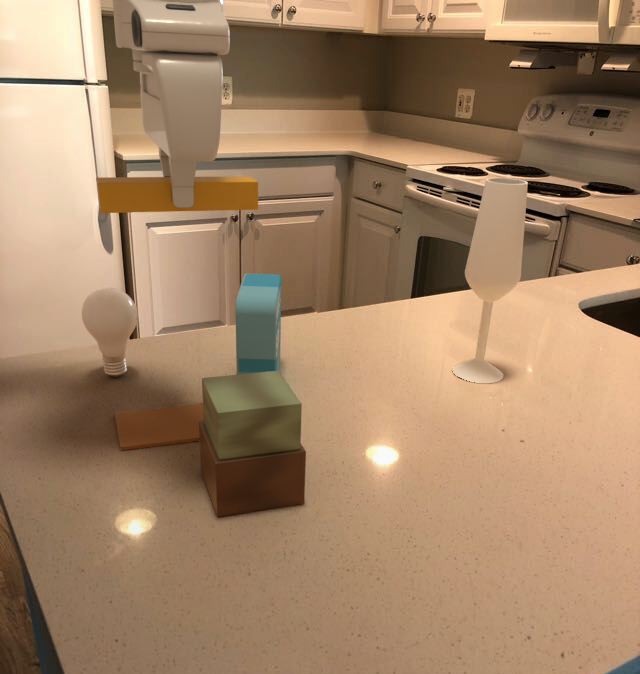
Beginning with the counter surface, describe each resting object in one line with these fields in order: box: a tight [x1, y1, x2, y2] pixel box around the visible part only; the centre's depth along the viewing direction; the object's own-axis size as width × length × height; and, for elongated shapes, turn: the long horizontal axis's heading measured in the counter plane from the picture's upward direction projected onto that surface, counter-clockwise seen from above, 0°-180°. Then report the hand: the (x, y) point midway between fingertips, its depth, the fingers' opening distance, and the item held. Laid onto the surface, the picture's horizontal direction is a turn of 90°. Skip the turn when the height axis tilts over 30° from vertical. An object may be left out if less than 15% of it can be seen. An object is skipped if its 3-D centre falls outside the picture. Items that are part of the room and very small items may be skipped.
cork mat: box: [114, 402, 204, 451], centre depth 77 cm, size 14×8×1 cm, turn 109°
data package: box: [235, 272, 282, 375], centre depth 86 cm, size 12×4×12 cm, turn 0°
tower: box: [199, 370, 307, 518], centre depth 64 cm, size 8×8×10 cm
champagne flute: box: [452, 177, 529, 384], centre depth 87 cm, size 7×7×24 cm
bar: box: [95, 175, 259, 214], centre depth 64 cm, size 14×3×2 cm, turn 109°
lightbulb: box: [81, 287, 139, 378], centre depth 85 cm, size 6×6×11 cm
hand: (178, 201), depth 64 cm, fingers closed on bar, 3 cm apart
